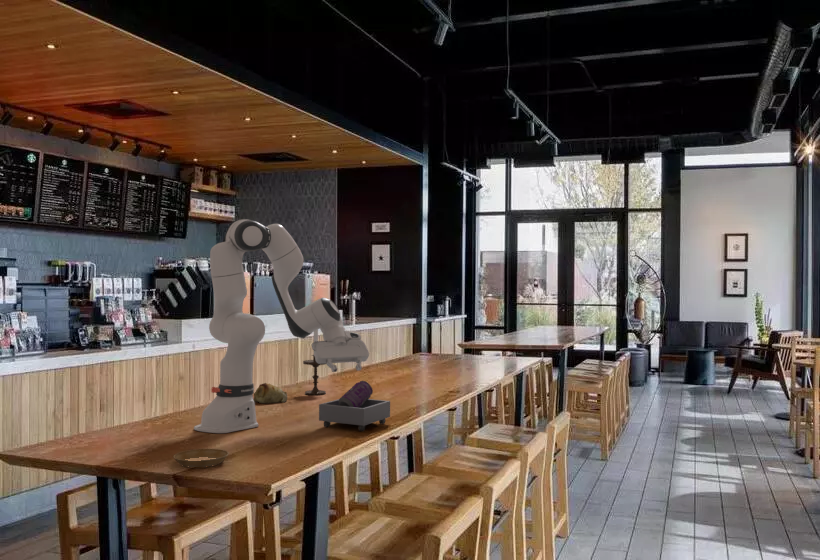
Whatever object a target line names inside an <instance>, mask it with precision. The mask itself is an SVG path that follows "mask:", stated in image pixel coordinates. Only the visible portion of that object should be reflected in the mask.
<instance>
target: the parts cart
mask: <svg viewBox="0 0 820 560" xmlns="http://www.w3.org/2000/svg"><path fill="white" fill-rule="evenodd" d="M339 399H340V398H338V399H335V400H330V401H327V402H322V403H319V404H318V421H321V422H323V427H324V428H330V426H331V423H336V424H337V423H338V424H343V425H345V424H347V425H354V426H358V429H357V430H358V432H364V431H365V430H366V426H367V425H370V424H373V423H376V422H379V424H380V425H385V424H386V419H388V418H391V400H383V399H372V398H369V399H368V400H367V401H366V402H365V403H364V404H363V405H362V406H361V407H360V408H356V407H346V406H340V405H339Z"/></svg>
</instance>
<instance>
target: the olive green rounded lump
mask: <svg viewBox="0 0 820 560" xmlns="http://www.w3.org/2000/svg"><path fill="white" fill-rule="evenodd" d="M253 400H254V402H255V403H258V402H259V404H279V403H283V404H284V403H286V402H287V400H288V393H287V391H283V388H280V387H279V386H276V385H273V384H272V383H271V384H270V383H266V382H265V383H261V384H259V386H258V388H256V390H255V391H254V393H253Z"/></svg>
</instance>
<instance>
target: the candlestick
mask: <svg viewBox="0 0 820 560" xmlns="http://www.w3.org/2000/svg"><path fill="white" fill-rule="evenodd" d="M315 341H319V329H318V330H316V331H314V332H313V342H315ZM311 356H312V359H306V360H303V362H302V363H303V365H308V366H312V367H313V375H312V379H313V381H312V383H313V388H312V389H311V390H310V389H309V390H306V391H305V392H304V395H306V396H323V395H326V392H327V391H325V390H320V389H319V388H318V384H319V381H318V379H319V377H320V376H319V375H318V368H319V366H323V365H327V364H326V363H325V364H318V363H317V362H316V360H315V356H314V354H312V355H311Z"/></svg>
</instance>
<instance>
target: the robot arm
mask: <svg viewBox="0 0 820 560" xmlns="http://www.w3.org/2000/svg"><path fill="white" fill-rule="evenodd" d="M222 239H223V240H222V242H218V243H215V245H213V246H212V247H211V248H210V252H209V265H210V267H209V268H210V275H211V281H212V287H213V288H212V289H213V294H214V309H213V315H212V318H211V320H210V321H209V326H208V327H209V328H208V329H209V330H208V331H209V333H210V335H211V336H212V337H213V338H214V339H215V340H217V341H218V342H220V343H224V344H227V348H226V352H225V354H224V357H223V358H222V359H221V361H220V365H219V366H220V367H219V368H220V369H219V374H220V375H219V385H218V386H217V387H216V386H212V387H211V390H210V392H211V393H212V394H214V393H215V395H216V396H215V397H214V398H213V400H211V402H210V403H209V404H208V405H207V406H206V407H205V408H204V409H203V410H202V413H201V420H200V421H201V422H200V423H199V424H197V425H194V426H193V430H194V431H198V432H203V433H210V434H212V433H213V434H227V433H231V432H232V433H233V432H237V431H242V430H248V429H252V428H253V429H254V428H257V427H259V422H258V421H257V414H256V413H257V412H256V402H254V400H253V399H254V393H255V384H254V383H253V375H254V374H253V372H254V371H253V370H254V369H253V368H254V367H253V366H254V357H255V354H256V351H257V348H258V345H259V343H260V342H261V341H262V340H263V339H264V336H265V334H266V326H265V323H264V322H263V320H262V319H261V318H259V317H258V316H256V315H253V314H250V313H244V312H243V306H244V301H245V299H246V297H247V295H248V289H247V283H246V276H245V271H244V265H243V257H244V254H245V253H246V252H256V251H258V250H259V251H260V250H262V251H263V252H264V253H265V254H266V256H267V258H268V259H269V261H270V263H271V264H272V267H273V274H272V275H271V283H272V286H273V289H274V292H275V294H276V297H277V299H278V302H279V305H280V307H281V309H282V312H283V314H284V316H285V320H286V323H287V327H288V330H289V331H290V333H291V334H292V336H293V337H295V338H296V337H297V338H299V339H305V338H307V337H308V336H309V335H312V334H313V333H314V331H316V330H318V331H319V330H320V332H321V333H322V338H323V340H318V341H315V342H314V341H313V342H311V348H312V350H313V355H314V356H315V360H316V362H317V363H318V364H324V365H326V366H327V367H328V368H330V369H331V372H332V373H335V372H337V371H338V366H337V364H341V363H355V364H356V366H355V370H356V371H362V363H363V362H366V361H367V360H368V359H369V357H370V351H369V349H368V348H367V345H366V343H365V342H364V341H363V340H362V335H361V334H360V333H356V332H352V331H349V330H347V329H346V328H345V327H344V322H343V319H342V317H341V313H340V309H339V308H338V306H337V304H336V303H335V302H334V301H333V300H332V299H330V298H327V297H320V298H319V299H316V300H314V301H313V302H311V303H309V304H308V305H306V306H304V307H302V308H300V309H296V308H295V306H294V303H293V300H292V297H291V296H290V293H289V286H290V284H291V283H292V281H294V279H295V278H296V277H297V276H298V275H299V273H300V272H301V270H302V268H303V265H304V256H303V254H302V250H301V249H300V248H299V245H298V244H297V243H296V241H295V240H294V237H293V236H292V235H291V234H290V233H289V232H288V230H287V229H286V228H285V226H283V225H281V224H279V223H272V224H268V225H267V226H265V225H263V224H262V223H260V222H258V221H256V220H251V219H247V218H242V219H237V220H234V221H233V222H231V223H230V224H229V225H228V227H227V229H226V231H225V234H224V237H223V238H222ZM325 363H326V364H325ZM335 364H336V365H335Z"/></svg>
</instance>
